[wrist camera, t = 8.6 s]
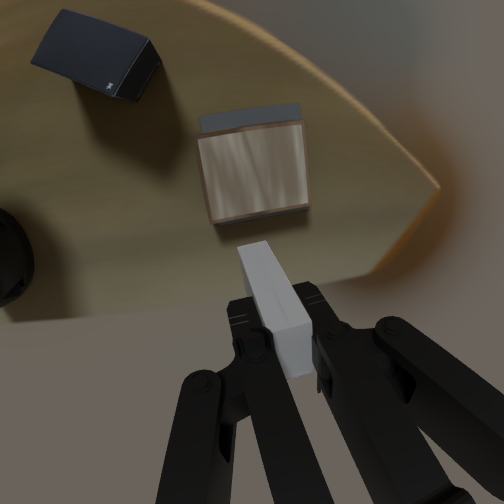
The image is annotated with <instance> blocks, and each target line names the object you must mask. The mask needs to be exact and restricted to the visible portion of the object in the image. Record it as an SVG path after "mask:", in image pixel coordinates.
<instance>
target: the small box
mask: <svg viewBox="0 0 504 504" xmlns="http://www.w3.org/2000/svg"><path fill="white" fill-rule="evenodd" d="M161 61H162V60H161V58H160V57H159V55H158V53H157V52H156V50H155V48H154V46H153V45H152V43H151V41H150V39H149V38H148V37H146V36H144V35H141V34H139V33H136V32H134V31H131V30H129V29H126V28H123V27H121V26H118V25H115V24H112V23H110V22H107V21H104V20H101V19H98V18H95V17H92V16H89V15H86V14H82V13H79V12H76V11H72V10H69V9H65V8H62V9H61V11H60V12H59V14H58V15H57V16H56V18H55V20H54V21H53V23H52V24H51V26H50V28H49V29H48V31H47V32H46V34H45V36H44V38H43V39H42V41H41V43H40V45H39V47H38V48H37V50H36V52H35V54H34V56H33V58H32V60H31V62H30V63H31V64H33V65H36V66H38V67H41V68H44V69H46V70H49V71H51V72H54V73H56V74H59V75H61V76H64V77H66V78H69V79H71V80H73V81H76V82H79V83H81V84H83V85H85V86H88V87H90V88H93V89H95V90H97V91H99V92H102V93H104V94H106V95H108V96H111V97H114V98H119V99H123V100H128V101H131V102H133V103H136V102H138V100H139V98H140V96H141V94H142V93H143V90H144V89H145V87H146V85H147V83H148V82H149V80H150V79H151V77H152V76H153V74H154V73H155V72H156V70H157V68H158V66H159V64H160V63H161Z"/></svg>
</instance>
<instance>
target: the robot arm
mask: <svg viewBox="0 0 504 504" xmlns="http://www.w3.org/2000/svg"><path fill="white" fill-rule="evenodd" d="M237 249H238V254H239V259H240V264H241V269H242V274H243V280H244V285H245V290H246V293H247V296H248V297H246V298H242V299H237V300H233V301H230V302H229V305H228V307H227V313H228V318H229V323H230V328H231V332H232V337H233V347H234V351H235V358H234V360H233V361H232V363H231V364H230V365H229V366H227V367H226V368H224V369H222V370H220V371H218V372H217V373H215V372H213V371H211V370H198V371H195V372H193V373H191V374H189V376H187V377H186V378H185V380H184V382H183V384H182V387H181V391H180V395H179V399H178V403H177V407H176V412H175V416H174V420H173V425H172V429H171V433H170V438H169V442H168V446H167V451H166V455H165V460H164V465H163V470H162V474H161V478H160V483H159V488H158V493H157V498H156V503H155V504H230V498H231V485H232V474H233V462H234V450H235V437H236V426H237V422H238V421H240V420H242V419H244V418H246V417H247V416H249V415H251V419H252V423H253V427H254V431H255V434H256V439H257V443H258V446H259V450H260V454H261V458H262V461H263V465H264V469H265V472H266V476H267V480H268V483H269V487H270V490H271V494H272V497H273V501H274V504H334V501H333V499H332V496H331V494H330V491H329V489H328V486H327V484H326V481H325V479H324V476H323V474H322V471H321V468H320V466H319V463H318V461H317V458H316V456H315V453H314V451H313V448H312V445H311V443H310V441H309V438H308V435H307V433H306V430H305V427H304V425H303V422H302V420H301V417H300V414H299V412H298V409H297V407H296V404H295V402H294V399H293V396H292V393H291V391H290V388H289V386H288V383H287V380H288V379H292V378H295V377H299V376H302V375H306V374H309V373H312V372H313V365H314V367H315V369H316V371H317V391H318V393H320V392H321V389H322V392H323V394H324V396H325V398H326V401H327V403H328V405H329V407H330V409H331V411H332V414H333V415H334V418H335V420H336V422H337V424H338V427H339V429H340V431H341V433H342V435H343V437H344V440H345V442H346V444H347V446H348V448H349V451H350V453H351V455H352V457H353V459H354V461H355V463H356V466H357V468H358V470H359V472H360V475H361V477H362V479H363V481H364V483H365V485H366V488H367V490H368V492H369V494H370V496H371V499H372V501H373V503H374V504H476V503H475V501H474V500H473V498H472V496H471V495H470V494H469V492H467V491H466V490H465V489H463V488H459V487H455V486H454V485H453V484H452V483H451V481H450V480H449V478H448V476H447V475H446V473H445V471H444V470H443V468H442V466H441V465H440V463H439V461H438V459H437V458H436V456H435V455H434V453H433V451H432V450H431V448H430V446H429V445H428V443H427V441H426V440H425V438H424V436H423V435H422V433H421V432H420V430H419V428H420V429H421V430H422V431H423V432H424V433H425V434H426V435H428V436H429V437H430V438H431V439H432V440H433V441H434V442H435V443H436V444H437V445H438V446H439V447H441V449H442V450H443V451H445V452H446V453H447V454H448V455H449V456H450V457H451V458H452V459H453V460H454V461H455V462H456V463H458V464H459V465H460V466H461V467H462V468H463V469H464V470H465V471H466V472H467V473H468V474H469V475H470V476H471V477H473V478H474V479H475V480H476V481H477V482H478V483H479V484H480V485H481V486H482V487H483V488H484V489H486V490H487V491H488V492H490V493H491V494H492V495H493V496H495V497H497V498H498V499H500V500H502V501H504V395H503V394H502V393H501V392H500V391H498V390H497V389H496V388H495V387H493V386H492V385H491V384H489V383H488V382H487V381H486V380H484V379H483V378H482V377H480V376H479V375H478V374H477V373H475V372H474V371H472V370H471V369H470V368H468V367H467V366H466V365H465V364H463V363H462V362H461V361H459V360H458V359H457V358H455V357H454V356H453V355H451V354H450V353H449V352H447V351H446V350H445V349H443V348H442V347H441V346H439V345H438V344H437V343H435V342H434V341H433V340H431V339H430V338H429V337H427V336H426V335H424V334H423V333H422V332H420V331H419V330H417V329H416V328H415V327H413V326H412V325H411V324H409V323H408V322H406V321H405V320H403V319H402V318H400V317H395V316H388V317H384V318H382V319H380V320H379V321H378V322H377V323H376V326H375V328H369V329H354V328H352V327H351V326H350V325H349V324H348V323H345V322H343V321H340V320H339V319H338V317H337V316H336V314H335V313H334V311H333V310H332V308H331V307H330V306H329V304H328V302H327V301H326V300H325V298H324V296H323V295H322V294H321V292H320V291H319V289H318V288H317V286H315V285H314V284H312V283H310V282H308V281H307V282H303V283H299V284H295V285H291V284H290V282H289V280H288V278H287V276H286V275H285V273H284V271H283V270H282V268H281V266H280V264H279V263H278V261H277V259H276V257H275V256H274V254H273V252H272V250H271V249H270V247H269V245H268V243H267V242H266V241H262V242H257V243H253V244H248V245H244V246H240V247H237ZM33 272H34V259H33V253H32V249H31V246H30V243H29V241H28V238H27V236H26V234H25V232H24V231H23V229H22V227H21V226H20V225H19V223H18V222H17V221H16V220H15V219H14V218H13V217H12V216H11V215H10V214H9V213H7V212H6V211H4V210H3V209H1V208H0V308H1V307H3V306H5V305H7V304H8V303H10V302H12V301H14V300H16V299H17V298H19V297H20V296H21V295H22V294H23V292H24V291H25V290H26V288H27V287H28V286H29V284H30V282H31V280H32V277H33ZM417 426H418V427H419V428H418V427H417Z"/></svg>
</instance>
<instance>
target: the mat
mask: <svg viewBox="0 0 504 504" xmlns="http://www.w3.org/2000/svg"><path fill="white" fill-rule="evenodd" d="M284 120H301V114H300V106H299V103H297V104H285V105H274V106H265V107H256V108H249V109H241V110H234V111H228V112H221V113H215V114H209V115H204V116H200V122H201V128H202V133H203V132H208V131H214V130H219V129H225V128H232V127H238V126H245V125H252V124H259V123H267V122H275V121H284ZM308 209H309V206H306V207H300V208H294V209H289V210H283V211H278V212H272V213H267V214H261V215H256V216H251V217H246V218H240V219H235V220H230V221H225V222H220V223H219V226H223V225H228V224H233V223H238V222H243V221H248V220H253V219H259V218H264V217H269V216H275V215H280V214H286V213H291V212H297V211H302V210H308Z"/></svg>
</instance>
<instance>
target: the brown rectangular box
mask: <svg viewBox="0 0 504 504" xmlns="http://www.w3.org/2000/svg"><path fill="white" fill-rule="evenodd" d="M193 138H194V144H195V149H196V155H197V160H198V166H199V171H200V176H201V182H202V187H203V192H204V197H205V202H206V207H207V212H208V217H209V222H210V224H215V223H220V222H225V221H230V220H235V219H240V218H246V217H251V216H256V215H261V214H267V213H272V212H278V211H283V210H289V209H294V208H300V207H306V206H311V190H310V177H309V165H308V154H307V143H306V133H305V124H304V121H301V120H284V121H275V122H267V123H259V124H252V125H245V126H238V127H232V128H225V129H219V130H214V131H208V132H203V133H198V134H194V135H193Z"/></svg>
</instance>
